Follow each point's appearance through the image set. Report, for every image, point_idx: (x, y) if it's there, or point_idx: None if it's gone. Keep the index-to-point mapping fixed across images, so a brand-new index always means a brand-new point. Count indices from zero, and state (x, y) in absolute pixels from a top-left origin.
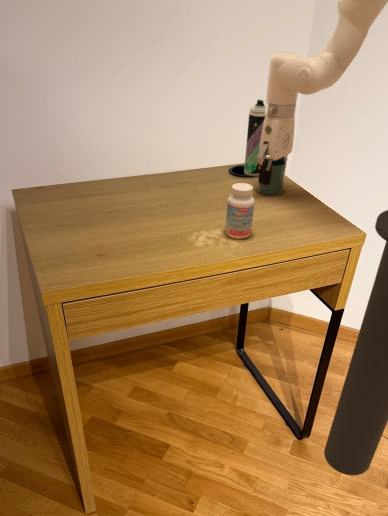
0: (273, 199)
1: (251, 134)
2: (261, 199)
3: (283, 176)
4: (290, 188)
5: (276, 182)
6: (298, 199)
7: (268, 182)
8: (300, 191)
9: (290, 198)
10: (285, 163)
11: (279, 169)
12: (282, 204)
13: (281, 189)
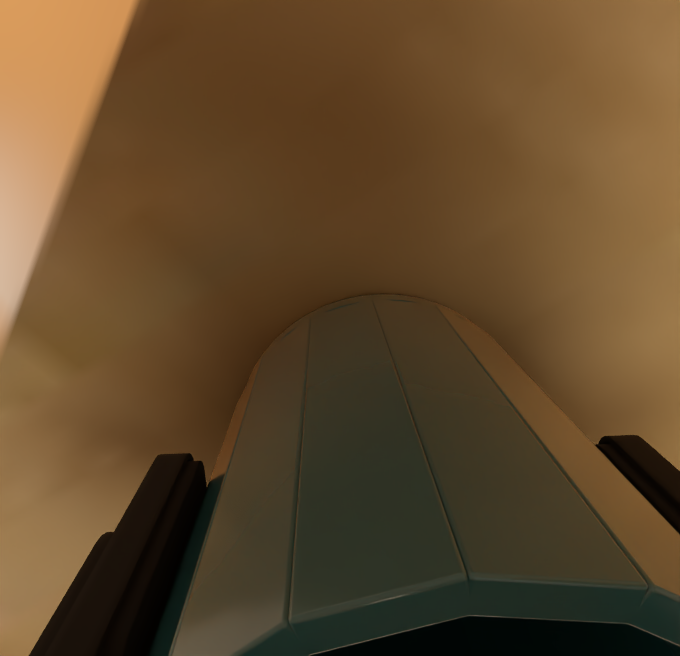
0: (580, 265)
1: None
2: (656, 362)
3: (402, 382)
4: (130, 300)
5: (527, 385)
6: (377, 5)
7: (655, 457)
8: (108, 146)
9: (419, 118)
10: (367, 616)
11: (647, 525)
12: (667, 89)
13: (378, 307)
